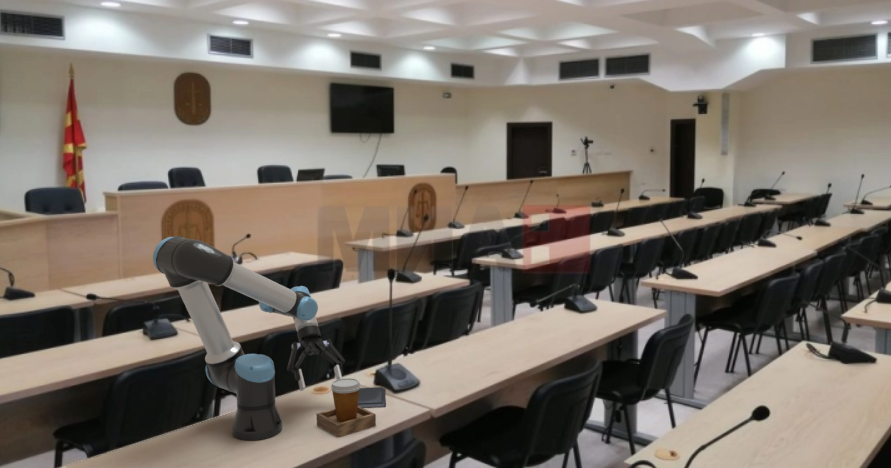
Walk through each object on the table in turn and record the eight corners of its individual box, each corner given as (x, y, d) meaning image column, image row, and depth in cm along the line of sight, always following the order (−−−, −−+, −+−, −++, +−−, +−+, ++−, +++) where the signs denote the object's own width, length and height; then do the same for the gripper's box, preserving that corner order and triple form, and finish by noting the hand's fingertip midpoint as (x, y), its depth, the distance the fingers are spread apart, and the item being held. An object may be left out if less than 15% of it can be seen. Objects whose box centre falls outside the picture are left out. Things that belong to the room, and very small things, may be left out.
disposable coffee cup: (355, 425, 224) (354, 388, 223) (327, 423, 227) (325, 386, 225) (365, 414, 234) (364, 378, 232) (338, 412, 236) (337, 377, 234)
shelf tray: (337, 437, 221) (337, 425, 220) (316, 425, 230) (316, 413, 230) (375, 425, 230) (375, 414, 229) (353, 414, 239) (353, 403, 239)
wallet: (385, 403, 246) (340, 405, 245) (385, 409, 246) (341, 410, 245) (386, 384, 265) (345, 386, 264) (386, 389, 266) (345, 391, 265)
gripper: (336, 331, 257) (351, 386, 247) (269, 336, 242) (282, 396, 233) (344, 321, 252) (360, 377, 242) (276, 326, 237) (290, 386, 228)
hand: (322, 386), depth 237 cm, fingers open, 13 cm apart
